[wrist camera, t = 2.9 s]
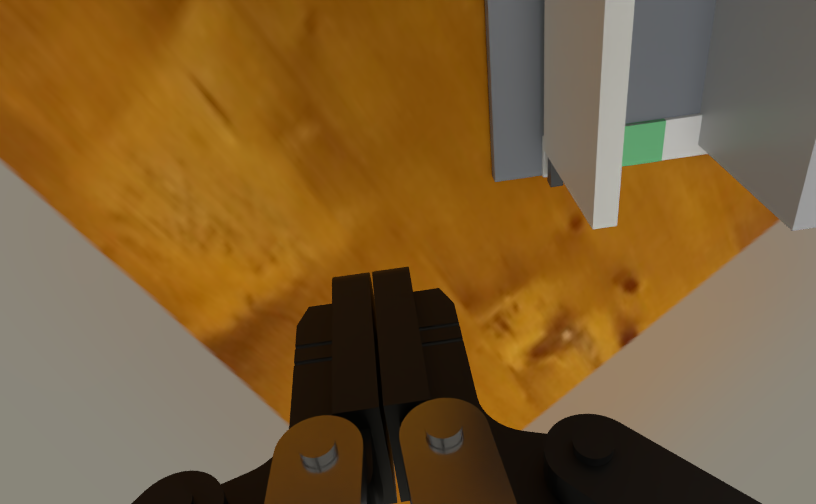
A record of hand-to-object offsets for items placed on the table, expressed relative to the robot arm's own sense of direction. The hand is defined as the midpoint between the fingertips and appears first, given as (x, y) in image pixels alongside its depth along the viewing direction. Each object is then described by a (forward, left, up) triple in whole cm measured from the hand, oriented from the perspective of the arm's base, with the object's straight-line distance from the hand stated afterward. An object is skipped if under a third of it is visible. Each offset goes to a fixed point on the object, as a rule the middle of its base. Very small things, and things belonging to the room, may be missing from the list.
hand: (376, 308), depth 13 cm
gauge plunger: (+1, +7, -13) cm, 15 cm away
